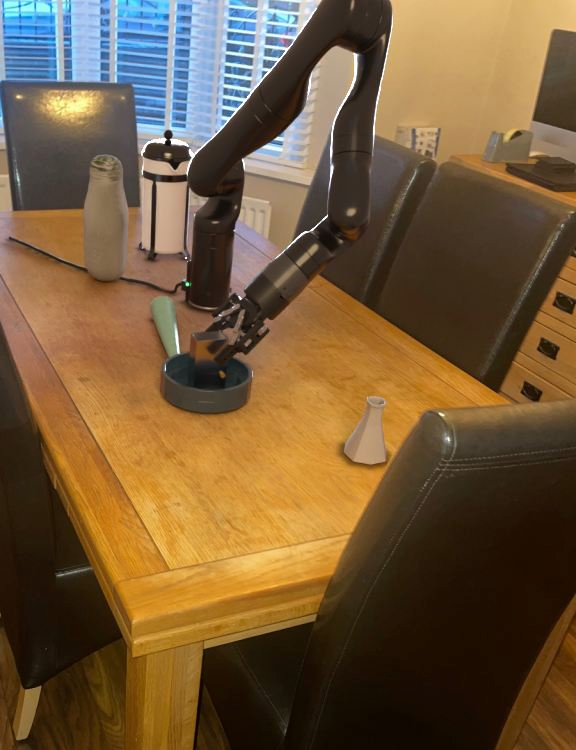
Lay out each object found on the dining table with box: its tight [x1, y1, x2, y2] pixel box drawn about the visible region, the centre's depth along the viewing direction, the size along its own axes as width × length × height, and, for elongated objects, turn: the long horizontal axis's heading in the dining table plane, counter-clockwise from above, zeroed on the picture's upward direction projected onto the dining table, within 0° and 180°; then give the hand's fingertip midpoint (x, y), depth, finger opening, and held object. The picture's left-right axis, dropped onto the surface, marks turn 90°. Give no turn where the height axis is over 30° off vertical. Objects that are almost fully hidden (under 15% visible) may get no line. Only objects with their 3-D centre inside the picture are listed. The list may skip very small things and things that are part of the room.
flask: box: [343, 395, 387, 465], centre depth 127 cm, size 7×7×10 cm
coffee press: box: [138, 129, 195, 261], centre depth 200 cm, size 17×16×30 cm
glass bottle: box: [82, 154, 130, 282], centre depth 181 cm, size 10×10×28 cm
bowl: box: [160, 350, 254, 415], centre depth 143 cm, size 16×16×5 cm
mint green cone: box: [149, 295, 181, 358], centre depth 159 cm, size 5×6×27 cm
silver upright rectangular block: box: [186, 330, 230, 390], centre depth 140 cm, size 6×5×11 cm
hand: (209, 352), depth 139 cm, fingers open, 8 cm apart
